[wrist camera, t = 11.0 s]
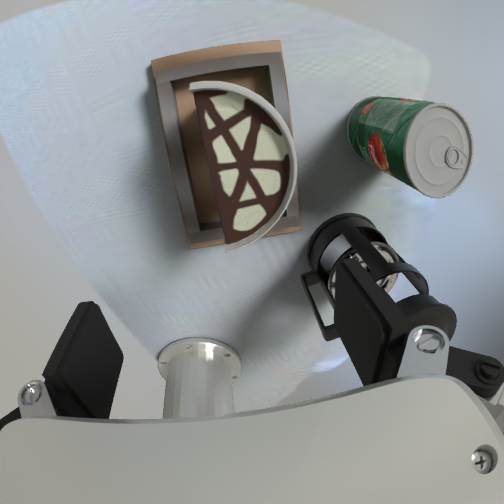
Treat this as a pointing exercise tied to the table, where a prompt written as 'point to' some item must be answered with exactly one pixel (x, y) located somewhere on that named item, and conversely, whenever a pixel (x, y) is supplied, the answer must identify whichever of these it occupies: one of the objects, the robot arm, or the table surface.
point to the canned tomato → (413, 142)
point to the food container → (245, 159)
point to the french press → (372, 273)
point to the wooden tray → (189, 132)
